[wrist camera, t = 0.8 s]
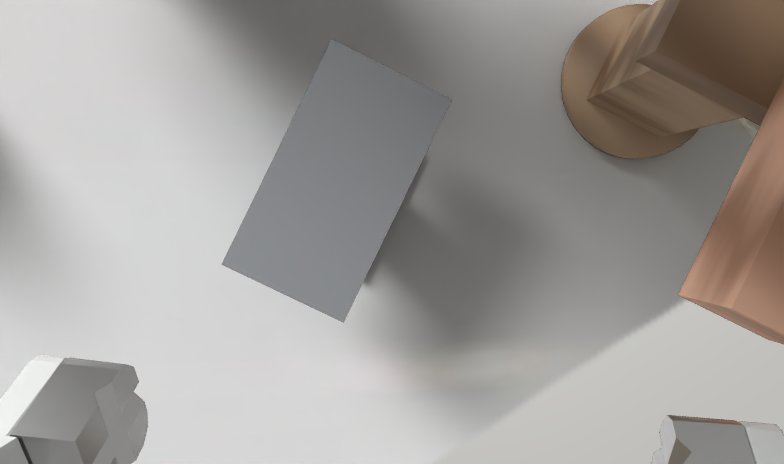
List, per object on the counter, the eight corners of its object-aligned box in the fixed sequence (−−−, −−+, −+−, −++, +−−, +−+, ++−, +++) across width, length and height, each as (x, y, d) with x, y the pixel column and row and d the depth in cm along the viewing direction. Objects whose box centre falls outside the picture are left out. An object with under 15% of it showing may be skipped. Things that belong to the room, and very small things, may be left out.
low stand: (329, 83, 54) (323, 34, 39) (428, 133, 54) (460, 103, 39) (249, 246, 54) (212, 260, 39) (350, 294, 54) (352, 326, 39)
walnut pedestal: (592, -46, 55) (815, -278, 29) (758, 41, 56) (1119, -107, 30) (508, 126, 55) (655, 50, 29) (675, 211, 56) (965, 211, 30)
